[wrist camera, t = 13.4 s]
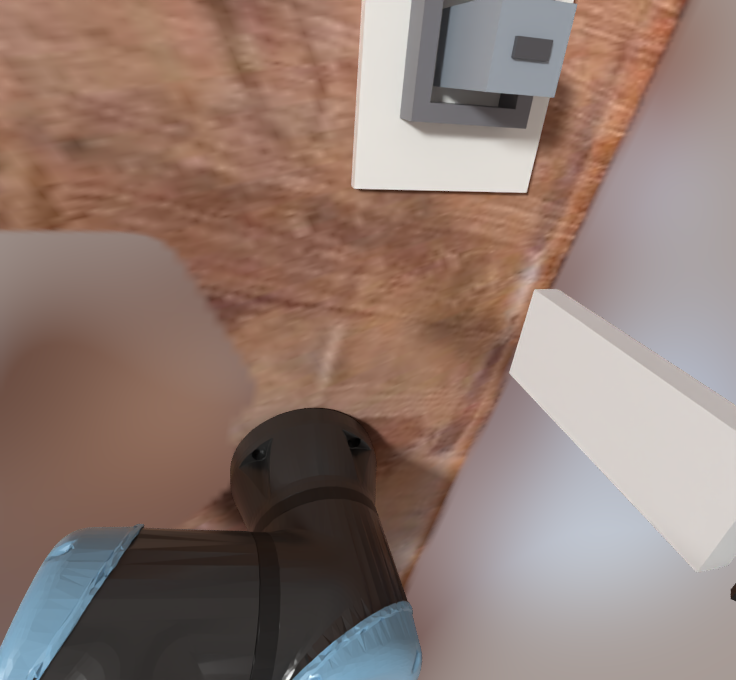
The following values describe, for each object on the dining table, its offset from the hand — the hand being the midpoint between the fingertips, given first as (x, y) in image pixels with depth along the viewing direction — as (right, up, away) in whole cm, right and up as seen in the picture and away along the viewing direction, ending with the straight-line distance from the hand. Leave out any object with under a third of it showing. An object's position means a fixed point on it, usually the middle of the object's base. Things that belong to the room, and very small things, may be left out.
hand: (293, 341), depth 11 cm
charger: (+9, +20, +21) cm, 30 cm away
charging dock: (+8, +19, +22) cm, 31 cm away
